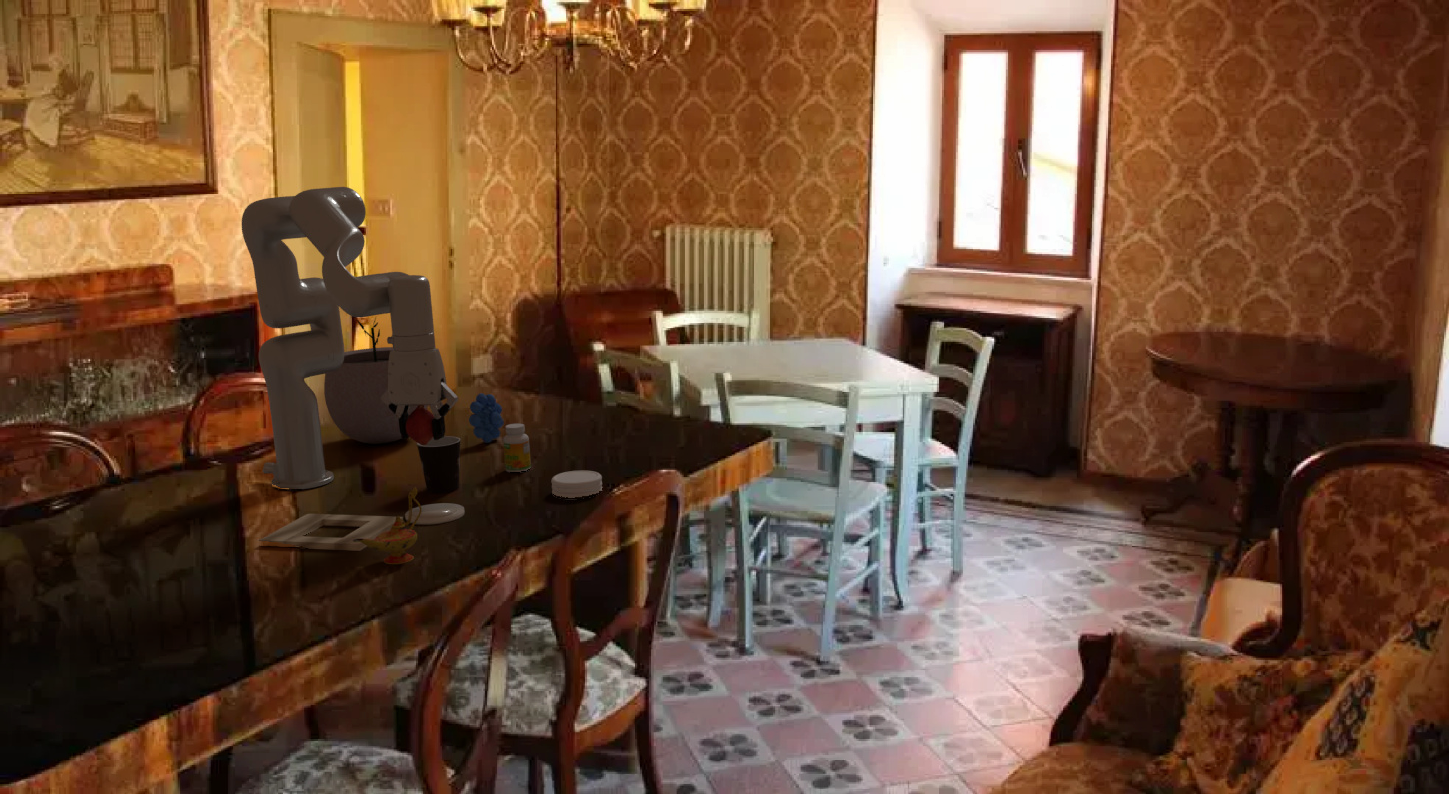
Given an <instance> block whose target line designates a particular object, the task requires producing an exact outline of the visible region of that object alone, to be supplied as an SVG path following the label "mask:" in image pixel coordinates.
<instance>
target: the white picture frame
mask: <svg viewBox="0 0 1449 794" xmlns="http://www.w3.org/2000/svg"><path fill="white" fill-rule="evenodd" d="M396 517H397V516H389V515H387V516H385V515H360V514H359V515H356V514H331V513H329V514H328V513H327V514H326V513H307V514H304V515H302V516H300V517H299V518H297V519H295V520H293V521H292V522H290V523H288V524H286V525H284V526H282V527H280V528H278V529H277V530H275V531H274V532H270V533H269V534H268V535H266V536H264V537H262V538H260V539H259V540H258V541H269V542H278V543H283V544H291V545H295V546H302V547H305V548H308V549H309V550H334V551H357V552H358V551H359V552H360V551H362V550H364V549H365V548H367V547H368V546H366V545H365V544H363V543H361V542H359V541H358V542H353V540H354V539H371V540H374V539H375V538H376V537H377V536H378V535H379V534H381V533H384V532H386V531H390V530H391V527H392V525H393V524H394V523H395V519H396ZM399 517H400V519H402V520H403V521H404V517H403V516H399ZM403 521H401V522H403ZM323 526H331V527H335V526H336V527H354V528H355V527H357V529H355V530H354V531H351V532H350V533H349V534H346V535H345V536H343V537H331V536H330V537H329V536H328V537H327V536H325V537H324V536H308V535H309V534H311V533H313V532H315V531H317V530H318V529H319V528H321V527H323ZM358 527H359V528H358ZM310 532H311V533H310ZM308 533H309V534H308ZM306 534H307V535H306ZM303 535H306V536H303ZM305 548H304V549H305Z"/></svg>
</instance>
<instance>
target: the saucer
mask: <svg viewBox="0 0 1449 794" xmlns="http://www.w3.org/2000/svg"><path fill="white" fill-rule="evenodd" d="M421 509H422V511H421V514H420V517H419V518H418V520H417V522H416V523H415V525H420V526H421V525H425V526H426V525H427V526H428V525H437V524H446V523H449V522H452V521H456V520H458V519H460V518H462V517H463V516H464V515H465V507H464V506H463V505H460V504H458V503H452V502H451V503H450V502H449V503H448V502H446V503H445V502H442V503H440V502H439V503H431V504H430V503H429V504H423V505H421ZM419 511H420V508H419V506H416V507H412V518H411V521H410V523H409V524H411V525H412V524H413V523H414V521H415V520H416V518H417V516H418V514H419ZM409 514H411V513H409V510H407V511H406V512H405V514H404V515H405V516H404V517H405V518H404V519H405V521H406V522H407V520H408V518H409V517H408V516H411V515H409ZM409 519H410V518H409Z"/></svg>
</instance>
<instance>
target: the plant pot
mask: <svg viewBox="0 0 1449 794" xmlns="http://www.w3.org/2000/svg"><path fill="white" fill-rule="evenodd" d="M376 319H377V316H375V318H374V320H373V321H374V322H373V324H372V327H370V332H371V334H370V333H369V332H368V331H367V330H365V326H364V325H363V323H361V322H360V321H359V320H356V322H357V324H358V325H359V326H360V327H361V329H362V330H363V332H364V334H365V336H369V338H371V341H372V347H370V348H361V349H360V348H359V349H354V350H349V351H344V361H343V364H342V366H341V367H340V368H339V369H338V370H336V371H334V372H330V373H326V374H324V382H323V383H324V384H323V385H324V387H323V388H324V389H323V390H324V391H323V393H324V401H325V405H326V408H327V411H328V413H329V416H330V418H331V420H332V422H333V424H335V426H337V428H338V429H339V430H340V431H341V432H342V433H343V434H344V435H345V436H346V437H348V438H350V439H352V440H355V441H358V442H361V443H364V444H371V445H372V444H373V445H377V444H379V445H380V444H381V445H382V444H389V443H393V442H396V441H399V440H403V439H402V438H401V433H400V429H399V419H398V418H396V416H395V414H394V413H393V412H392V411H391V410H390V409H389V406H387V405H386V404H385V403H384V402H383V401H382V400H381V397H382V396H383V394H384V393H385V392H386V391H387V389H388V363H389V355H390V352H391V351H394V348H393V346H387V347H386V346H385V347H382V346H381V347H376V345H378V344H379V343H378V342H379V337H380V336H381V333H380V332H381V329H380V328H378V333H377V338H376V337H375V329H374V328H376V327H377V326H378V324H379V322H376ZM417 406H418V405H410V408H409V411H408V415H410V414H411V413H412V412H413V411H414V410H415V409H416V408H417ZM428 406H429V405H424V408H425V409H426V410H428Z"/></svg>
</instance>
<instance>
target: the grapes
mask: <svg viewBox="0 0 1449 794" xmlns="http://www.w3.org/2000/svg"><path fill="white" fill-rule="evenodd" d="M469 409H470V411H471V412H472V414H471V415H469V418H468V422H469V424H470V425H471V426H472V427H473V430H472V431H473V435H474V436H475V437H476V438H478V439H481V440H482V441H483V443H486V444H489V443H492V441H493V440H495V439H498V438H500V436H501V431H500V428H502V427H503V426H504V424H505V423H504V419H503V417H502V415H501V414H502V412H503V408H502V405H500V404H499V403H497V399H496V398H495V396H494V395H493V394H491V393H489V394H488V393H487V394H484V393H479V394H477V396H476V397H475V401H472V402H471V403H470V405H469Z"/></svg>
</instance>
